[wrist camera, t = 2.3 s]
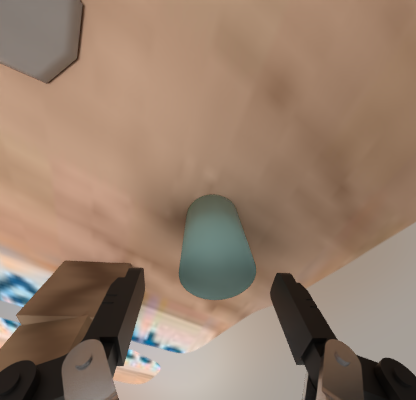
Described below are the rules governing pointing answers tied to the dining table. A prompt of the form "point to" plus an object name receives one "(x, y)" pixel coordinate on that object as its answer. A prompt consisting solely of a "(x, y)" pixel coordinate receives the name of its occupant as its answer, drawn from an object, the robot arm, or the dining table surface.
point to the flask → (39, 36)
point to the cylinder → (215, 250)
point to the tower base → (72, 291)
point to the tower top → (44, 340)
